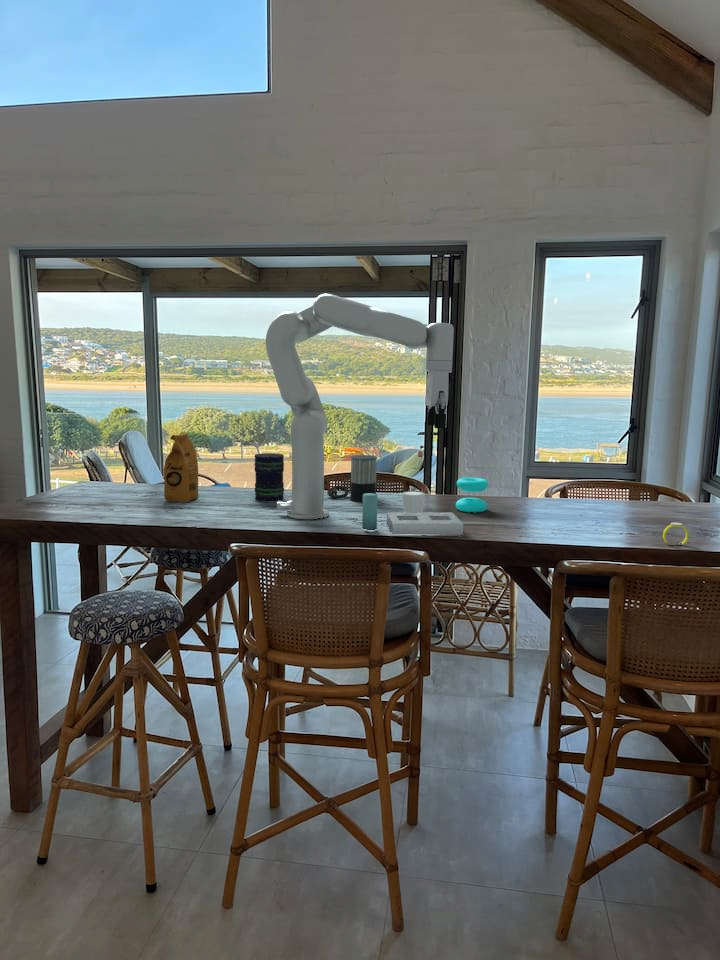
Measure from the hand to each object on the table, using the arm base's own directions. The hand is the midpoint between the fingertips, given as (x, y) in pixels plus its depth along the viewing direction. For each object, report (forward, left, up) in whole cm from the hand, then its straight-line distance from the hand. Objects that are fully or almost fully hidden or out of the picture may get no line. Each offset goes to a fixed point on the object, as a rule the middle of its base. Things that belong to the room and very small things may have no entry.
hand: (436, 426), depth 196 cm
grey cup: (-5, +5, -28) cm, 29 cm away
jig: (-5, -14, -28) cm, 31 cm away
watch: (+58, -31, -28) cm, 71 cm away
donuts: (+15, +13, -28) cm, 34 cm away
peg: (-20, -14, -28) cm, 37 cm away
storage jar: (-50, +31, -28) cm, 65 cm away
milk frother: (-22, +32, -28) cm, 48 cm away
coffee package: (-79, +30, -28) cm, 89 cm away
